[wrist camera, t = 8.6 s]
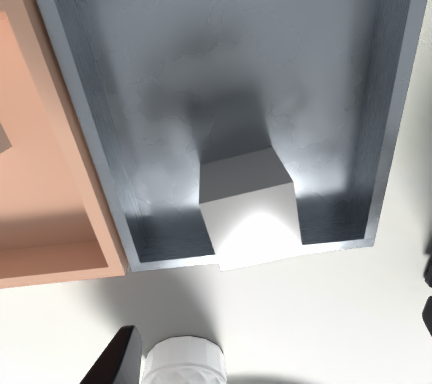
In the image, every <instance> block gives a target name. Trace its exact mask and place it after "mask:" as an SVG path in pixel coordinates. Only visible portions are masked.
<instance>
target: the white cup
mask: <svg viewBox="0 0 432 384" xmlns="http://www.w3.org/2000/svg"><path fill="white" fill-rule="evenodd" d="M141 384H227V376H226V365H225V357H224V355H223V353H222V351H221V350H220V348H219V346H217V345H215V344H214V343H212V342H210V341H209V340H207V339H203V338H198V337H192V336H182V337H173V338H169V339H166V340H164V341H162V342H160V343H157V344H156V345H155V346H154V347H153V348H152V349H151V351H150V352H149V353H148V354H147V358H146V363H145V368H144V372H143V377H142V382H141Z"/></svg>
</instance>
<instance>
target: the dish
mask: <svg viewBox="0 0 432 384" xmlns="http://www.w3.org/2000/svg"><path fill="white" fill-rule="evenodd" d="M0 123H1V125H2V127H3V129H4V131H5V133H6V135H7V137H8V139H9V141H10V143H11V145H12V147H11V148H9V149H7V150H5V151H4V152H2V153H0V289H1V288H11V287H20V286H29V285H39V284H48V283H57V282H67V281H76V280H85V279H95V278H104V277H114V276H123V275H125V274H126V271H127V268H128V265H129V262H128V259H127V256H126V253H125V250H124V247H123V245H122V242H121V239H120V236H119V233H118V230H117V228H116V225H115V222H114V219H113V216H112V213H111V211H110V208H109V205H108V202H107V199H106V196H105V194H104V191H103V188H102V185H101V182H100V179H99V177H98V174H97V171H96V168H95V165H94V162H93V160H92V157H91V154H90V151H89V148H88V146H87V143H86V140H85V137H84V134H83V131H82V129H81V126H80V123H79V120H78V117H77V114H76V112H75V109H74V106H73V103H72V100H71V97H70V95H69V92H68V89H67V86H66V83H65V80H64V78H63V75H62V72H61V69H60V66H59V63H58V61H57V58H56V55H55V52H54V49H53V46H52V44H51V41H50V38H49V35H48V32H47V29H46V27H45V24H44V21H43V18H42V15H41V12H40V10H39V7H38V4H37V1H36V0H0Z"/></svg>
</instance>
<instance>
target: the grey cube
mask: <svg viewBox="0 0 432 384" xmlns="http://www.w3.org/2000/svg"><path fill="white" fill-rule="evenodd" d="M199 207H200V210H201V213H202V216H203V219H204V222H205V225H206V228H207V231H208V234H209V237H210V240H211V243H212V246H213V248H214V251H215V254H216V257H217V260H218V263H219V266H220V269H221V271H226V270H230V269H235V268H240V267H244V266H249V265H254V264H259V263H263V262H268V261H273V260H277V259H282V258H287V257H292V256H296V255H301V254H303V250H302V242H301V235H300V227H299V219H298V211H297V204H296V196H295V188H294V182H293V180H292V178H291V177H290V175H289V173H288V172H287V170H286V168H285V167H284V165H283V163H282V162H281V160H280V158H279V157H278V155H277V153H276V152H275V150H274V148H273V147H271V148H267V149H263V150H259V151H255V152H251V153H247V154H243V155H239V156H235V157H231V158H227V159H223V160H219V161H215V162H211V163H207V164H203V165H200V178H199Z"/></svg>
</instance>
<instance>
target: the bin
mask: <svg viewBox="0 0 432 384" xmlns="http://www.w3.org/2000/svg"><path fill="white" fill-rule="evenodd" d="M36 1H37V4H38V7H39V10H40V12H41V15H42V18H43V21H44V24H45V27H46V29H47V32H48V35H49V38H50V41H51V44H52V46H53V49H54V52H55V55H56V58H57V61H58V63H59V66H60V69H61V72H62V75H63V78H64V80H65V83H66V86H67V89H68V92H69V95H70V97H71V100H72V103H73V106H74V109H75V112H76V114H77V117H78V120H79V123H80V126H81V129H82V131H83V134H84V137H85V140H86V143H87V146H88V148H89V151H90V154H91V157H92V160H93V162H94V165H95V168H96V171H97V174H98V177H99V179H100V182H101V185H102V188H103V191H104V194H105V196H106V199H107V202H108V205H109V208H110V211H111V213H112V216H113V219H114V222H115V225H116V228H117V230H118V233H119V236H120V239H121V242H122V245H123V247H124V250H125V253H126V256H127V259H128V262H129V264H130V267H131V270H132V272H137V271H147V270H156V269H165V268H175V267H184V266H193V265H203V264H212V263H218V260H217V257H216V254H215V251H214V248H213V246H212V243H211V240H210V237H209V234H208V231H207V228H206V225H205V222H204V219H203V216H202V213H201V210H200V207H199V178H200V165H203V164H207V163H211V162H215V161H219V160H223V159H227V158H231V157H235V156H239V155H243V154H247V153H251V152H255V151H259V150H263V149H267V148H271V147H273V148H274V150H275V152H276V153H277V155H278V157H279V158H280V160H281V162H282V163H283V165H284V167H285V168H286V170H287V172H288V173H289V175H290V177H291V178H292V180H293V182H294V188H295V196H296V204H297V211H298V219H299V227H300V235H301V242H302V250H303V254H305V253H315V252H324V251H333V250H343V249H352V248H361V247H371V246H373V245H374V241H375V236H376V232H377V227H378V222H379V218H380V213H381V209H382V204H383V200H384V195H385V191H386V186H387V181H388V177H389V172H390V168H391V163H392V159H393V154H394V150H395V145H396V140H397V136H398V131H399V127H400V122H401V118H402V113H403V109H404V104H405V99H406V95H407V90H408V86H409V81H410V77H411V72H412V68H413V63H414V58H415V54H416V49H417V45H418V40H419V36H420V31H421V27H422V22H423V17H424V13H425V8H426V4H427V0H36Z"/></svg>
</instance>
